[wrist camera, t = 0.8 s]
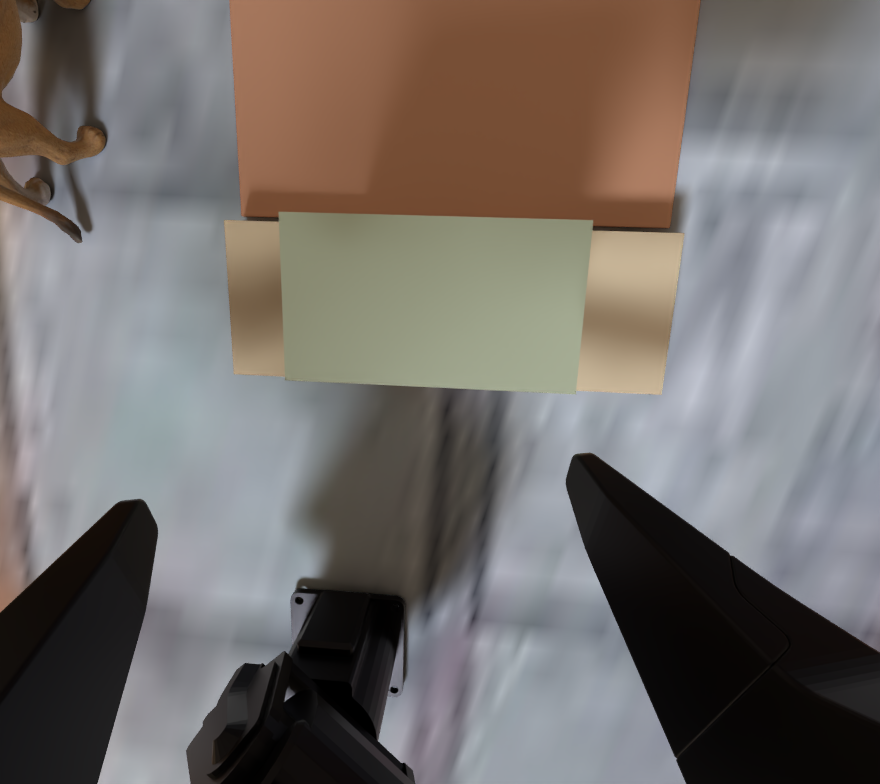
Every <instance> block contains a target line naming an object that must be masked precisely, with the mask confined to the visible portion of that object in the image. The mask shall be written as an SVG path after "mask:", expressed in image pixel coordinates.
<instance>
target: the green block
mask: <svg viewBox="0 0 880 784" xmlns="http://www.w3.org/2000/svg"><path fill="white" fill-rule="evenodd" d="M592 228H593V220H568V219H531V218H494V217H457V216H420V215H383V214H346V213H309V212H279V237H280V263H281V288H282V313H283V339H284V364H285V380H292V381H312V382H333V383H353V384H374V385H395V386H415V387H436V388H456V389H477V390H498V391H518V392H539V393H559V394H576V387H577V377H578V367H579V357H580V347H581V337H582V328H583V318H584V308H585V298H586V288H587V278H588V268H589V258H590V248H591V238H592Z"/></svg>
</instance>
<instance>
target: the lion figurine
mask: <svg viewBox="0 0 880 784" xmlns="http://www.w3.org/2000/svg"><path fill="white" fill-rule="evenodd" d="M54 1H55V2H56V3H57V4H58V5H60V6H61V7H63V8H73V9H79V10H80V9H83V8H84V7H85V6H87V5H88V3H89V2H90V1H91V0H54ZM37 18H38V5H37V1H36V0H0V157H15V156H25V155H41V156H44V157H47V158H49V159H50V160H52V161H54V162H56V163H57V164H60V165H67V164H70V163H72V162H74V161H77V160H80V159H83V158H87V157H92V156H95V155H97V154H99V153H100V152H101V151H102V150H103V148H104V146H105V141H106V139H105V136H104V134H103V133H102V131H101V130H100V129H98V128H95V127H92V126H80V127H79V128H78V131H77V139H76V141H73V142H67V141H63V140H61V139H59V138H57V137H56V136H55V135H53V134H52V133H51V132H50V131H48V130H47V129H46V128H45V127H44V126H42V125H41V124H40V123H39V122H38V121H37V120H36V119H35V118H34V117H32V116H31V115H29V114H28V113H26V112H24V111H21V110H19V109H17V108H15V107H13V106H11V105H9V104H8V103H6V102H5V101H4V100H3V98H2V90H3V89H4V88H5V87H6V86H7V85H8V83H9V82H10V80H11V79H12V78H13V75H14V73H15V71H16V68H17V66H18V64H19V62H20V57H21V47H22V28H21V23H20V22H23V23H28V22H34V21H36V20H37ZM50 197H51V192H50V187H49V186H48V184H46V183H45V182H44V181H43V180H41V179H39V178H35V177H33V178H31V179H30V180H29V181H27V182H26V183H25V187H24V188H23V187H22V186H21V185H19V184H18V183H17V182H16V181H15V180H14V179H13V177H12V176H11V175H10V174H9V172H8V171H7V169H6V167H5V165H4V163H3V162H2V160H1V158H0V200H2V201H4V202H7V203H10V204H12V205H15V206H18V207H21V208H24V209H26V210H29V211H32V212H34V213H36V214H39V215H41V216H42V217H44V218H46V219H48V220H50V221H51V222H53V223H55V224H56V225H57V226H58V227H59V228H60V229H61V230H62V231H64V232H65V233H67V234H68V235H70V237H71V238H72V239H73V240H74V241H75V242H77V243H82V237H81V231H80V229H79V227H78V226H77V225H76V224H74V223H73V222H72V221H71V220H69V219H68V218H66V217H65V216H63V215H62V214H60V213H59V212H58V211H55V210H53V209H51V208H49V207H46V206H45V205H47V204H48V203H49V201H50Z"/></svg>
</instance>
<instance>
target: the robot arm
mask: <svg viewBox="0 0 880 784" xmlns="http://www.w3.org/2000/svg"><path fill="white" fill-rule="evenodd" d="M566 488H567V491H568V495H569V498H570V501H571V504H572V508H573V511H574V514H575V518H576V521H577V524H578V527H579V531H580V534H581V537H582V540H583V543H584V546H585V549H586V552H587V554H588V557H589V559H590V561H591V564H592V566H593V568H594V571H595V573H596V575H597V578H598V580H599V582H600V585H601V587H602V589H603V591H604V594H605V596H606V598H607V601H608V603H609V605H610V608H611V610H612V612H613V615H614V617H615V619H616V622H617V624H618V626H619V629H620V631H621V633H622V635H623V638H624V640H625V642H626V645H627V647H628V649H629V652H630V654H631V656H632V659H633V661H634V663H635V666H636V668H637V670H638V672H639V675H640V677H641V679H642V682H643V684H644V686H645V689H646V691H647V693H648V696H649V698H650V700H651V703H652V705H653V707H654V710H655V712H656V714H657V716H658V719H659V721H660V723H661V726H662V728H663V730H664V733H665V735H666V737H667V740H668V742H669V744H670V747H671V749H672V751H673V754H674V756H675V757H676V758H677V759H676V761H677V763H678V766H679V768H680V770H681V773H682V775H683V777H684V780H685V782H686V784H880V652H878V651H877V650H875V649H873V648H872V647H870V646H868V645H867V644H865V643H864V642H862V641H860V640H859V639H857V638H856V637H854V636H853V635H851V634H849V633H848V632H846V631H845V630H843V629H842V628H840V627H838V626H837V625H835V624H834V623H832V622H830V621H829V620H827V619H826V618H824V617H823V616H821V615H819V614H818V613H816V612H815V611H813V610H812V609H810V608H808V607H807V606H805V605H804V604H802V603H801V602H799V601H798V600H796V599H794V598H793V597H791V596H790V595H788V594H787V593H785V592H784V591H782V590H781V589H779V588H778V587H776V586H775V585H773V584H772V583H770V582H769V581H768V580H766V579H765V578H763V577H762V576H760V575H759V574H758V573H756V572H755V571H753V570H752V569H751V568H749V567H748V566H746V565H745V564H744V563H742V562H741V561H740V560H738V559H737V558H735V557H734V556H730V554H729V553H728V552H727V551H726V550H724V549H723V548H722V547H720V546H719V545H718V544H716V543H715V542H713V541H712V540H711V539H709V538H708V537H707V536H705V535H704V534H702V533H701V532H700V531H698V530H697V529H696V528H694V527H693V526H692V525H690V524H689V523H687V522H686V521H685V520H683V519H682V518H681V517H679V516H678V515H677V514H675V513H674V512H672V511H671V510H670V509H668V508H667V507H666V506H664V505H663V504H662V503H660V502H659V501H657V500H656V499H655V498H653V497H652V496H651V495H649V494H648V493H646V492H645V491H644V490H642V489H641V488H640V487H638V486H637V485H636V484H634V483H633V482H631V481H630V480H629V479H627V478H626V477H625V476H623V475H622V474H621V473H619V472H618V471H616V470H615V469H614V468H612V467H611V466H610V465H608V464H607V463H606V462H604V461H603V460H601V459H600V458H599V457H597V456H596V455H594V454H592V453H580V454H575V455H574V456H573V457H572V460H571V463H570V467H569V470H568V474H567V477H566ZM157 538H158V527H157V524H156V522H155V520H154V518H153V516H152V514H151V512H150V510H149V508H148V506H147V504H146V502H145V501H144V500H142V499H134V500H124V501H120V502H118V503H117V504H115V505H114V506H113V507H112V508H111V509H110V510H109V511H108V512H107V513H106V514H105V515H103V516H102V517H101V518H100V519H99V520H98V521H97V522H96V523H95V524H94V525H93V526H92V527H91V528H90V529H89V530H88V531H86V532H85V533H84V534H83V535H82V536H81V537H80V538H79V539H78V540H77V541H76V542H75V543H74V544H73V545H72V546H71V547H70V548H68V549H67V550H66V551H65V552H64V553H63V554H62V555H61V556H60V557H59V558H58V559H57V560H56V561H55V562H54V563H53V564H51V565H50V566H49V567H48V568H47V569H46V570H45V571H44V572H43V573H42V574H41V575H40V576H39V577H38V578H37V579H36V580H34V581H33V582H32V583H31V584H30V585H29V586H28V587H27V588H26V589H25V590H24V591H23V592H22V593H21V594H20V595H19V596H17V597H16V598H15V599H14V600H13V601H12V602H11V603H10V604H9V605H8V606H7V607H6V608H5V609H4V610H3V611H2V612H0V784H97V783H98V779H99V776H100V772H101V769H102V765H103V761H104V758H105V754H106V751H107V747H108V744H109V740H110V737H111V733H112V729H113V726H114V722H115V719H116V715H117V712H118V708H119V705H120V701H121V697H122V694H123V690H124V687H125V683H126V680H127V676H128V673H129V669H130V665H131V662H132V658H133V655H134V651H135V648H136V644H137V641H138V637H139V633H140V630H141V626H142V623H143V619H144V615H145V611H146V606H147V601H148V595H149V589H150V583H151V576H152V570H153V563H154V557H155V551H156V544H157ZM298 597H301V598H302V599H303V600H299V599H298ZM393 604H397V605H398V606H399V607H394V606H393ZM291 624H292V648H291V650H290V652H289V654H287V653H286V652H285V651H284V652H282V653H281V654H280V655H278V656H277V657H276V658H275V659H273V660H272V661H271V662H270V663H268V664H267V665H266V666H265V665H264V664H263V663H262V664H249V663H245V664H243V665H242V666H241V667H240V668H238V669H237V670H236V672H235V673H234V675H233V676H232V678H231V680H230V681H229V683H228V685H227V686H226V688H225V690H224V691H223V693H222V695H221V697H220V699H219V701H218V703H217V706H216V707H215V708H214V709H213V710H212V711H211V712H210V713H209V714H208V715H207V716H206V718H205V719H204V721H203V727H202V728H201V729H200V731H199V732H198V734H197V735H196V736H195V738H194V739H193V741H192V742H191V743H190V745H189V746H188V748H187V750H186V754H187V761H188V768H189V775H190V782H191V784H415V780H414V774H413V770H412V769H411V768H410V767H409V766H407V765H406V764H405V763H401V762H400V761H398V760H397V759H396V758H395V757H394V756H393V755H392V754H391V753H390V752H389V751H388V750H387V749H386V748H384V747H383V746H382V745H381V744H380V743H379V742H378V739H379V734H380V729H381V724H382V720H383V715H384V710H385V705H386V700H387V696H388V697H398V696H400V695H401V694H402V691H403V685H404V637H405V601H404V600H403V598H401V597H399V596H393V595H380V594H367V593H359V592H346V591H333V590H313V589H297V590H295V592H294V593H293V595H292V596H291ZM392 686H395V687H397V688H393V687H392Z"/></svg>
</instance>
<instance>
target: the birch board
mask: <svg viewBox="0 0 880 784" xmlns="http://www.w3.org/2000/svg"><path fill="white" fill-rule="evenodd" d="M224 226H225V242H226V257H227V273H228V289H229V304H230V320H231V336H232V351H233V367H234V374H242V375H262V376H283V377H285V364H284V339H283V313H282V288H281V263H280V237H279V222H271V221H236V220H224ZM683 240H684V233H659V232H624V231H592V238H591V248H590V258H589V268H588V278H587V288H586V298H585V308H584V318H583V328H582V337H581V347H580V357H579V367H578V377H577V387H576V391H595V392H616V393H637V394H658V395H662V387H663V380H664V373H665V366H666V359H667V352H668V345H669V338H670V331H671V324H672V317H673V310H674V303H675V296H676V289H677V282H678V275H679V268H680V261H681V254H682V247H683Z"/></svg>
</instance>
